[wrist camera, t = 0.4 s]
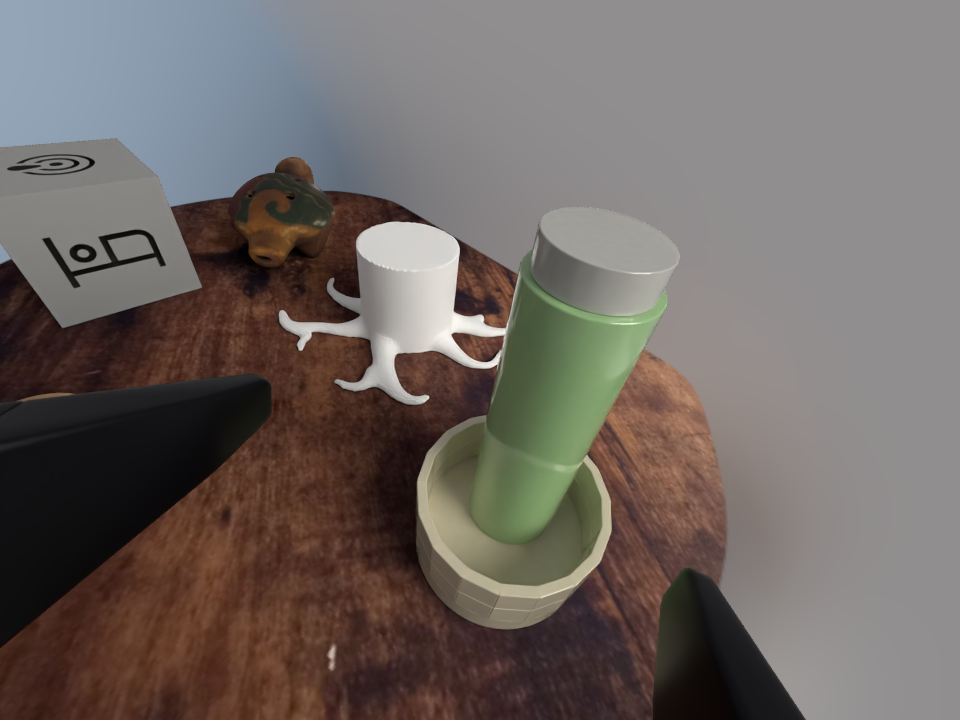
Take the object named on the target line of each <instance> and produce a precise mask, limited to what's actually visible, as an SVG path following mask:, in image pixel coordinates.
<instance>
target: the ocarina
mask: <svg viewBox="0 0 960 720" xmlns="http://www.w3.org/2000/svg"><path fill="white" fill-rule="evenodd" d="M228 214H229V220H230V223H231V225H232V226H233V228H234V229H235V230H236V231H237V232H238V233H239V234H240V235H242V236H243V237H244V238H246V239H247V240H248V241H249V255H250V257H251V258H252V259H253V260H254V261H255V262H256V263H257V264H259V265H260V266H263V267H268V268H276V267H279V266H280V265H282V264H283V263H284V262H285V260H286V258H287V256H288V254H289V253H290V251H291V250H292V249H293V248H294V247H296V248H297V249H299V250H300V251H301V252H302V253H304V254H305V255H307V256H308V257H313V258H314V257H316V256H318V255H319V253H320V252H321V250H322V248H323V246H324V245H325V243H326V240H327V238H328V235H329V232H330V230H331V227H332V225H333V222H334V219H335V210H334V207H333V204H332V202H331V201H330V199H329V198H328V197H327V195H326V194H325V193H324V192H323V191H322V190H321V189H320V188H318V187H317V186H315V185H314V180H313V175H312V172H311V169H310V167H309V166H308V164H306V162H305V161H304V160H302V159H300V158H297V157H290V158H286V159H284V160H282V161H281V162H280V163H279V164H278V165H277V166H276V169H275V173H268V174H263V175H260V176H257V177H255V178H253V179H251V180H249V181H248V182H246V183H245V184H244V185H243V186H242V187H241V188H240V189H239V190H238V191H237V192H236V193H235V195H234V196H233V198H232V200H231V202H230V204H229V210H228Z"/></svg>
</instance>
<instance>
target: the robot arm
mask: <svg viewBox="0 0 960 720" xmlns="http://www.w3.org/2000/svg"><path fill="white" fill-rule="evenodd" d="M271 409H272V400H271V383H270V381H269V380H267V379H265V378H263V377H261V376H259V375H256V374H242V375H234V376H226V377H217V378H209V379H200V380H192V381H183V382H175V383H166V384H158V385H150V386H141V387H133V388H124V389H116V390H107V391H99V392H91V393H82V394H74V395H65V396H57V397H48V398H40V399H32V400H27V401H25V402H23V401H14V402H5V403H0V648H1V647H2V646H3V645H5V644H6V643H7V642H8V641H9V640H11V639H12V638H13V637H14V636H16V635H17V634H18V633H19V632H20V631H22V630H23V629H24V628H25V627H26V626H28V625H29V624H30V623H31V622H33V621H34V620H35V619H36V618H37V617H39V616H40V615H41V614H42V613H43V612H45V611H46V610H47V609H48V608H50V607H51V606H52V605H53V604H54V603H56V602H57V601H58V600H59V599H60V598H62V597H63V596H64V595H65V594H67V593H68V592H69V591H70V590H71V589H73V588H74V587H75V586H76V585H78V584H79V583H80V582H81V581H82V580H84V579H85V578H86V577H87V576H88V575H90V574H91V573H92V572H93V571H95V570H96V569H97V568H98V567H99V566H101V565H102V564H103V563H104V562H105V561H107V560H108V559H109V558H110V557H112V556H113V555H114V554H115V553H116V552H118V551H119V550H120V549H121V548H123V547H124V546H125V545H126V544H127V543H129V542H130V541H131V540H132V539H133V538H135V537H136V536H137V535H138V534H140V533H141V532H142V531H143V530H144V529H146V528H147V527H148V526H149V525H150V524H152V523H153V522H154V521H155V520H157V519H158V518H159V517H160V516H161V515H163V514H164V513H165V512H166V511H168V510H169V509H170V508H171V507H172V506H174V505H175V504H176V503H177V502H178V501H180V500H181V499H182V498H183V497H185V496H186V495H187V494H188V493H189V492H191V491H192V490H193V489H194V488H195V487H197V486H198V485H199V484H200V483H202V482H203V481H204V480H205V479H206V478H208V477H209V476H210V475H211V474H212V473H213V472H214V471H216V470H217V469H218V468H219V467H220V466H221V465H222V464H223V463H224V462H225V461H226V460H227V459H228V458H229V457H230V456H231V455H232V454H233V453H234V452H235V451H236V450H237V449H238V448H239V447H240V446H241V445H242V444H243V443H244V442H245V441H246V440H247V439H248V438H249V437H251V436H252V435H253V434H254V433H255V432H256V431H257V430H258V429H259V428H260V427H261V426H262V425H263V424H264V423H265V422H266V421H267V419H268V418H269V416H270V414H271ZM653 720H806V719H805V718H804V716H803V715H802V713H801V712H800V710H799V709H798V707H797V706H796V704H795V703H794V701H793V700H792V698H791V697H790V695H789V694H788V692H787V691H786V689H785V688H784V686H783V685H782V683H781V682H780V680H779V679H778V677H777V676H776V674H775V673H774V672H773V670H772V668H771V667H770V665H769V664H768V662H767V661H766V659H765V658H764V656H763V655H762V653H761V652H760V650H759V648H758V647H757V645H756V644H755V643H754V641H753V639H752V638H751V636H750V635H749V634H748V632H747V630H746V629H745V628H744V626H743V625H742V623H741V621H740V620H739V619H738V617H737V615H736V614H735V612H734V611H733V609H732V608H731V606H730V605H729V603H728V602H727V601H726V599H725V597H724V596H723V594H722V593H721V591H720V590H719V588H718V587H717V585H716V584H715V582H714V581H713V580H712V579H711V578H710V577H709V576H707V575H705V574H702V573H700V572H698V571H696V570H693V569H691V568H685V569H683V570H682V571H681V572H680V573H679V575H678V576H677V578H676V579H675V580H674V582H673V583H672V584H671V586H670V587H669V589H668V590H667V591H666V593H665V594H664V596H663V599H662V602H661V608H660V619H659V631H658V643H657V655H656V666H655V678H654V693H653Z"/></svg>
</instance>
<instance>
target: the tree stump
mask: <svg viewBox="0 0 960 720" xmlns="http://www.w3.org/2000/svg"><path fill="white" fill-rule="evenodd" d="M459 250H460V248H459V245H458V243H457V241H456V240H455V238H454V237H453V236H451V235H449V234H447V233H446V232H445V231H441V230H440V229H436V227H432V226H429V225H425V224H421V223H420V224H417V223H410V222H405V223H403V222H388V223H384V224H381V225H376V226H374V227H371V228H370V229H367V230H365V231H364V232H362V233H361V234H360V235H359V237H358V238H357V241H356V251H357V262H358V274H359V286H360V298H352V297H348V296H345V295H343V294H341V293H339V292H337V291H336V290H335V289H334V287H333V284H334V278H331V279H330V280H329V281H328V283H327V292H328V293H329V295H330V296H332V298H333V299H334V300H335V301H337V302H338V303H340V304H341V305H342V306H344V307H346V308H348V309H350V310H352V311H355V312H357V313H359V314H360V316H359V317H358V318H356V319H354V320H352V321H349V322H345V323H340V324H333V323H320V322H305V323H302V322H294V321H292V320H290V318H289V317H288V315H287V314H286V312H285V311H283V310H281V311H280V312H279V322H280V324H281V326H282V327H283V328H284V329H285V330H287V331H290V332H291V333H294V334H296V335H298V336H299V337H300V340H299V342H298V343H297V346H298V350H299V351H302V350H303V347H304V346H305V343H306V342H307V341H309V340H310V338H311V333H312V332H322V333H329V334H334V335H340V336H347V337H361V338H365V339H368V340H370V342H371V350H372V356H373V363H372V365H371V366H370V367H368V368H367V370H366V372H365V375H364V377H363V379H362V380H361V381H359V382H356V383H349V382H345V381H342V380H339V379H336V380H335V381H334V383H336V384H338V385H340V386H341V387H342V388H343V389H347V390H352V391H354V392H355V391H359V390H365V389H367V388H370V387H378V388H380V389H382V390H383V391H385V392H386V393H387V394H388V395H389V396H391V397H392V398H394V399H395V400H397V401H400V402H402V403H405V404H409V405H417V404H422V403H425V402H426V401H427V400H428V399H429V396H427V395H423V396H412V395H410V394H408V393H407V392H406V391H404V389H403V388H402V387H401V385H400V383H399V381H398V378H397V375H396V372H395V368H394V359H395V356H396V355H397V354H398V353H404V352H405V353H411V352H413V353H419V352H425V351H437V352H440V353H442V354H444V355H446V356H448V357H450V358H451V359H453V360H455V361H456V362H458V363H460V364H462V365H464V366H467V367H470V368H481V369H485V368H488V369H489V368H491V367H494V366H495V365H498V362H499V358H500V353H501V350H500V351H499V352H498V353H497V355H496V357H495V358H494V359H493V360H492V361H490V362H479V361H476V360H474V359H472V358H470V357H468V356H467V355H466V354H465V353H464V352H463V351H462V350H461V349H460V348H459V347H458V345H457V344H456V343H455V341H454V340H453V338H452V336H451V334H453V333H454V332H458V333H467V334H471V335H475V336H479V337H496V336H504V335H505V331H506V328H494V327H490V326H487V325H485V324H484V323H483V321H484V317H483V316H482V315H477V316H472V317H468V316H462V315H459V314H457V313H455V312H454V311H453V309H454V300H455V290H456V280H457V271H458V261H459Z"/></svg>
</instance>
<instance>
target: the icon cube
mask: <svg viewBox="0 0 960 720" xmlns="http://www.w3.org/2000/svg"><path fill="white" fill-rule="evenodd" d="M0 243H1V245H2V246H3V248H4V249H5V250H6V251H7V253H8V254H9V256H10V257H11V259H12V260H13V261H14V263H15V264H16V265H17V267H18V268H19V269H20V271H21V272H22V274H23V275H24V276H25V278H26V279H27V280H28V282H29V283H30V284H31V286H32V287H33V289H34V290H35V291H36V293H37V294H38V295H39V297H40V298H41V300H42V301H43V302H44V304H45V305H46V306H47V308H48V309H49V310H50V312H51V313H52V315H53V316H54V317H55V319H56V320H57V321H58V323H59V324H60V326H61V327H62V328H65V327H68V326H72V325H75V324H78V323H82V322H85V321H89V320H92V319H96V318H99V317H102V316H106V315H109V314H113V313H116V312H120V311H123V310H127V309H130V308H133V307H137V306H140V305H144V304H147V303H151V302H154V301H158V300H161V299H164V298H168V297H171V296H175V295H178V294H182V293H185V292H188V291H192V290H195V289H199V288H202V286H201V284H200V281H199V279H198V276H197V274H196V271H195V269H194V266H193V264H192V261H191V258H190V256H189V253H188V251H187V248H186V246H185V243H184V241H183V238H182V236H181V233H180V231H179V228H178V226H177V223H176V221H175V218H174V216H173V213H172V211H171V208H170V206H169V203H168V201H167V198H166V196H165V193H164V190H163V188H162V185H161V183H160V180H159V178H158V176H157V175H156V174H155V173H154V172H153V171H151V170H150V169H149V168H148V167H147V166H146V165H145V164H144V163H143V162H142V161H140V159H138V158H137V157H136V156H135V155H134V154H133V153H132V152H131V151H130V150H129V149H127V148H126V147H125V146H124V145H123V144H122V143H121V142H120V141H119V140H118V139H117V138H114V139H101V140H89V141H76V142H64V143H51V144H38V145H26V146H13V147H1V148H0Z"/></svg>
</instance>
